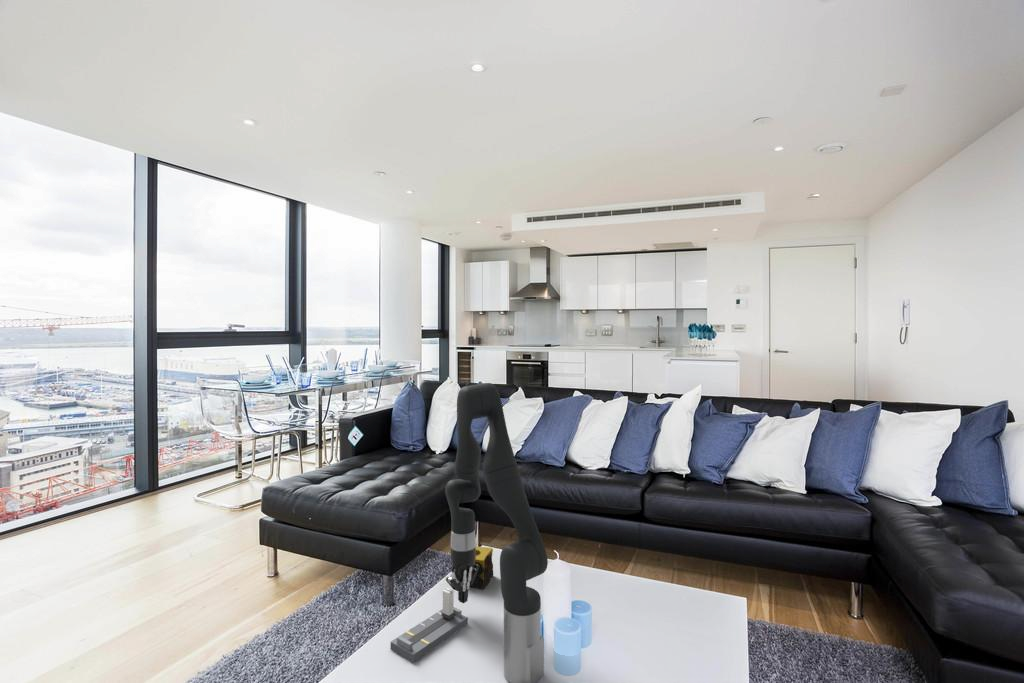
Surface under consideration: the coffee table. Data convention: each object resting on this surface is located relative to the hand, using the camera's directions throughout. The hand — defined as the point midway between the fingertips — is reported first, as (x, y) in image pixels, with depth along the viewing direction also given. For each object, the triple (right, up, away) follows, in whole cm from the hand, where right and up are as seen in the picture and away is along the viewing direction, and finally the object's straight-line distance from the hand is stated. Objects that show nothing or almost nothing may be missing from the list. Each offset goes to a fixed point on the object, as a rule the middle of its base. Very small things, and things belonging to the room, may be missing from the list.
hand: (463, 601), depth 152 cm
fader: (-4, -2, -5) cm, 7 cm away
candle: (+2, -4, +21) cm, 21 cm away
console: (-8, -4, -11) cm, 14 cm away
